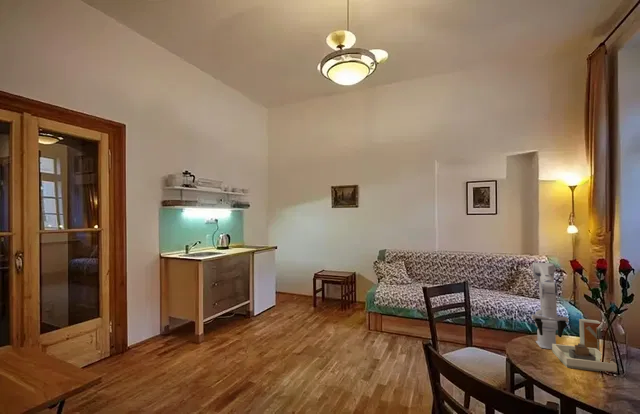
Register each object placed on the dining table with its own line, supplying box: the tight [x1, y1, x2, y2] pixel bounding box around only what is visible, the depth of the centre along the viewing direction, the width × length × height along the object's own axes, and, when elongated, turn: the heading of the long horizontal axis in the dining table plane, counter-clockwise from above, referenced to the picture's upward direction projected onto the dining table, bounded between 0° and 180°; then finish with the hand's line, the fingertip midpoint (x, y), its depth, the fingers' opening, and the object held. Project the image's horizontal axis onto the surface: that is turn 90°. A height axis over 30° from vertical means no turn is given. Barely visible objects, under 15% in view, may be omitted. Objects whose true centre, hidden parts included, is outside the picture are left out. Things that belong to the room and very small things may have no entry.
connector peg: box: [574, 342, 589, 356], centre depth 147 cm, size 4×4×7 cm
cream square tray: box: [551, 343, 618, 373], centre depth 147 cm, size 18×18×4 cm
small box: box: [578, 318, 602, 349], centre depth 166 cm, size 8×6×13 cm
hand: (550, 335), depth 153 cm, fingers open, 7 cm apart
